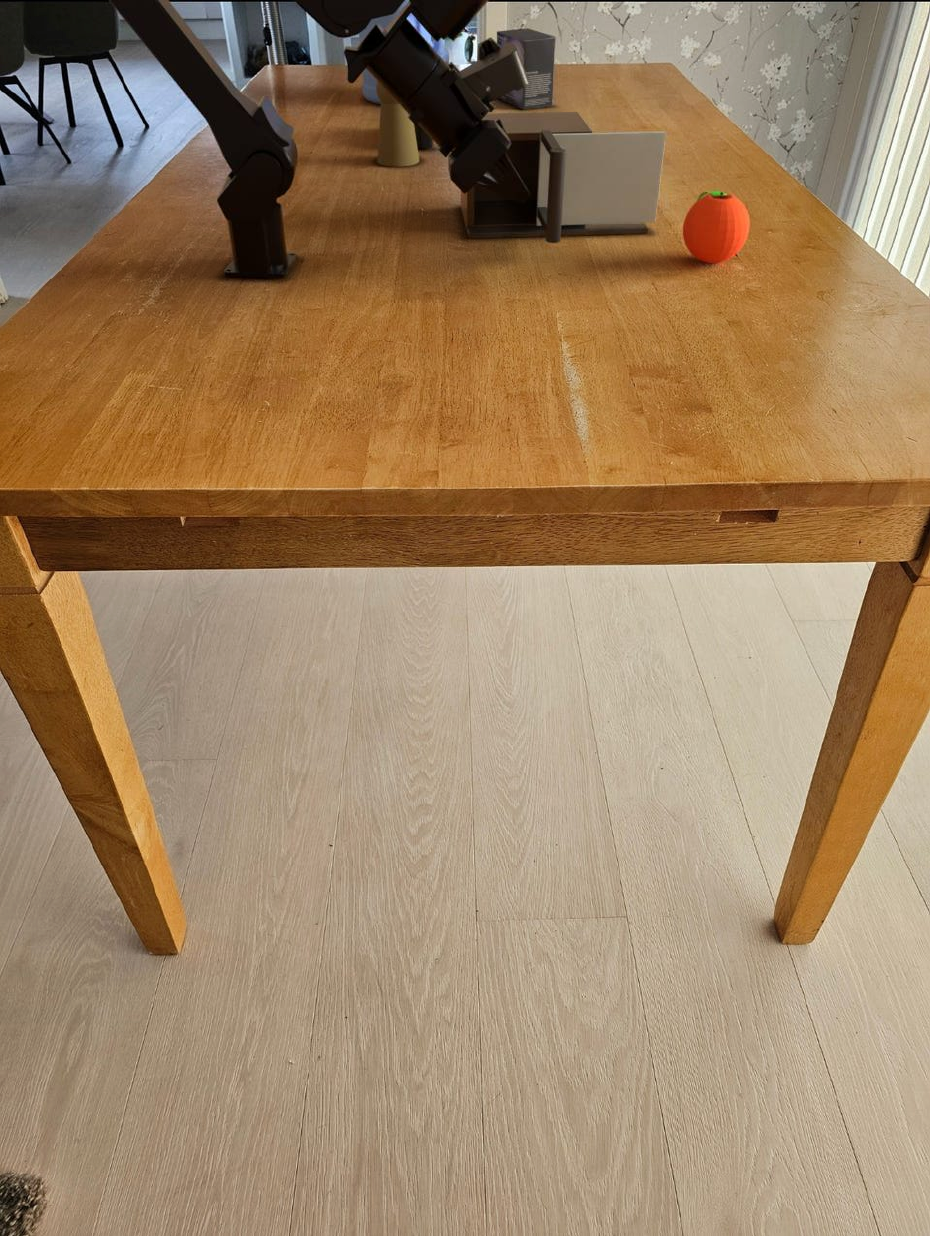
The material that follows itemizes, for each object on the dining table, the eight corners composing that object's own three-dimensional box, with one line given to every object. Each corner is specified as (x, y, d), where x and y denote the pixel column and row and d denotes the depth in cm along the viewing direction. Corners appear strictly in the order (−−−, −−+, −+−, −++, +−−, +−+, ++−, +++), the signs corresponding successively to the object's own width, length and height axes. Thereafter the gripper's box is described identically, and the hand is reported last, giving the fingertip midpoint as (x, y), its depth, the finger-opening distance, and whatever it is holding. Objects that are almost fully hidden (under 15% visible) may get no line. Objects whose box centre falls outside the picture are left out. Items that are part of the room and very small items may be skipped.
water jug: (349, 104, 164) (334, -97, 146) (381, 87, 176) (371, -101, 158) (434, 109, 161) (429, -96, 143) (461, 91, 172) (460, -100, 155)
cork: (369, 163, 134) (363, 75, 127) (391, 153, 138) (387, 68, 131) (405, 168, 132) (402, 79, 125) (427, 158, 136) (424, 72, 129)
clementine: (661, 252, 105) (670, 184, 100) (715, 244, 107) (726, 177, 102) (700, 275, 99) (711, 204, 94) (756, 267, 101) (769, 197, 96)
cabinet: (468, 238, 108) (468, 139, 102) (460, 207, 118) (460, 114, 111) (647, 233, 110) (659, 134, 103) (625, 203, 119) (635, 110, 112)
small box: (493, 98, 168) (494, 30, 161) (525, 95, 170) (528, 27, 163) (520, 110, 160) (523, 38, 154) (554, 106, 163) (557, 36, 156)
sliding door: (546, 253, 102) (551, 152, 95) (533, 224, 109) (537, 128, 103) (676, 250, 102) (690, 149, 96) (654, 221, 110) (665, 126, 104)
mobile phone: (436, 114, 137) (403, 91, 147) (416, 115, 136) (385, 93, 147) (436, 151, 140) (404, 126, 151) (417, 152, 139) (386, 128, 150)
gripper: (489, 26, 80) (603, 163, 88) (471, -2, 95) (570, 118, 103) (400, 128, 85) (516, 250, 93) (396, 87, 99) (497, 196, 107)
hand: (527, 199), depth 99 cm, fingers closed
